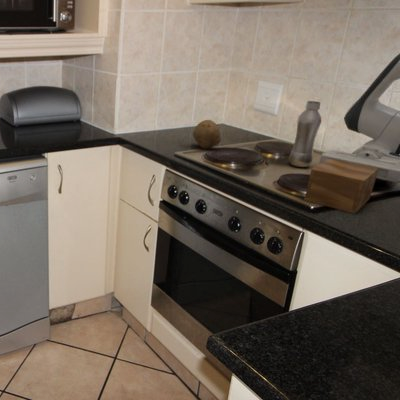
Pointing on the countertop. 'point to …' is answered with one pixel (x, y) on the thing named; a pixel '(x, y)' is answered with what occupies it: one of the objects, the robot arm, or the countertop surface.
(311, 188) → the wooden block
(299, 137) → the plastic bottle
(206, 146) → the brown coconut
